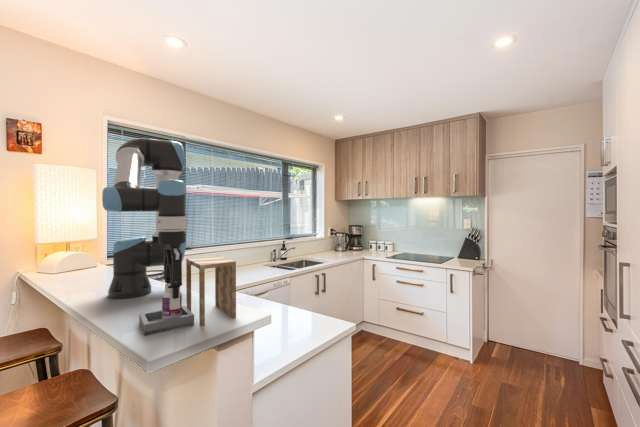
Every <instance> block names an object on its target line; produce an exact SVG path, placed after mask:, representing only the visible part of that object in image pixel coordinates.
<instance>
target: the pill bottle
mask: <svg viewBox="0 0 640 427" xmlns="http://www.w3.org/2000/svg"><path fill="white" fill-rule="evenodd" d="M168 286H170V285H167V286H164V293H163V294H162V296H161V297H162V299H161V300H162V301H161V303H162V304H161V310H162V318H163V319H169V318H174V317H179V316H181V314H182V306H183V304H182V303H183V302H182V300H183V299H182V296H183V294H182V292H181V291H180V308H178V309H173V310H170V288H168ZM165 291H166V292H165Z"/></svg>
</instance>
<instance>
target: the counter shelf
mask: <svg viewBox="0 0 640 427" xmlns="http://www.w3.org/2000/svg"><path fill="white" fill-rule="evenodd" d="M185 262H186V264H185V266H186V268H185V269H186V271H185V272H186V273H185V274H186V276H185V277H186V281H185V282H186V286H185V287H186V290H185V291H186V294H185V295H186V297H185V298H186V307H187V308H188V309H189V310H190V311H191V312H192V266H193V267H195V268H197V269H198V276H199V278H198V280H199V281H198V283H199V284H198V286H199V291H198V292H199V293H198V296H199V300H198V301H199V302H198V303H199V308H198V309H199V310H198V311H199V322H198V323H199V326H200V327H204V326H205V324H206V323H205V322H206V320H205V318H206V317H205V316H206V310H205V309H206V308H205V307H206V306H205V305H206V304H205V303H206V300H205V298H206V297H205V295H206V294H205V293H206V292H205V289H206V287H205V286H206V282H205V281H206V279H205V278H206V276H205V274H206V273H205V272H206V271H205V270H206V269H207V270H208V269H215V270H214V271H215V272H214V273H215V274H214V277H215V278H214V279H215V280H214V282H215V283H214V284H215V285H214V287H215V288H214V290H215V292H214V297H215V298H214V301H215V303H214V304H215V307H216V308H219V309H220V310H221V311H223V312H225V313H226V314H227V315H228V316H229V317H230V318H231V319H236V318H237V269H236V268H237V262H236V261H235V260H232V259H230V258H227V257H224V256H220V255H210V256H209V255H208V256H200V257H189V258H188V257H187V258H186V260H185Z"/></svg>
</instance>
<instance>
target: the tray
mask: <svg viewBox="0 0 640 427" xmlns="http://www.w3.org/2000/svg"><path fill="white" fill-rule="evenodd" d="M138 320H139V321H138V323H139V326H140V328H141V331H142V332H143V335H144V336H145V337H146V336H150V335H154V334H159V333H163V332H168V331H171V330H176V329H180V328H185V327H189V326H194V325H195V314H194V313H193V312H192V310H191V311H190V310H189V309H188V308H187V305H182V314H181V316H179V317H174V318H169V319H163V318H162V309H159V310H154V311H148V312H142V313H139V314H138Z"/></svg>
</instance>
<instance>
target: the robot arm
mask: <svg viewBox="0 0 640 427" xmlns="http://www.w3.org/2000/svg"><path fill="white" fill-rule="evenodd" d="M115 161H116V170H115V175H114V178H113V179H114V180H113V185H112V186H106V187H104V188H103V190H102V199H101V200H102V202H101V203H102V208H103V210H105V211H106V212H118V213H121V212H155V213H156V214H155V215H156V216H155V217H156V218H155V220H156V221H155V224H156V226H155V227H156V229H155V232H154V233H153V234H152V236H151V237H152V238H150V239H147V236H146V235H145V236H144V235H140V236H132V237H127V238H122V239H118V240H115V242H113V247H112V248H113V250H112V254H113V255H112V256H113V258H112V259H113V260H112V264H113V266H112V267H113V268H112V269H113V272H112V273H113V276H112V280H111V283H110V286H109V288H108V290H107V291H108V292H107V294H108V295H107V297H108V298H110V299H130V298H135V297H136V298H137V297H141V296H145V295H147V294H150V293H151V292H152V285H151V281H150V279H149V276H148V274H147V268H149V267H163V280H164V283H165V284H164V285H165V286H167V285H170V286H168V288H170V310H173V309H178V308H180V292H181V287H182V286H183V272H182V271H183V263H182V262H183V261H184V259H185V254H186V247H187V246H186V245H187V244H186V241H187V238H186V236H187V235H186V233H187V232H186V231H185V230H186V228H187V227H186V226H187V224H186V223H187V219H186V218H187V217H186V193H187V190H186V183H185V181H183V180H179V176H180V175H181V174H183V170H184V169H186V168H187V167H186V156H185V150H184V146H183V144H182V143H181V142H179V141H174V140H167V139H157V138H155V139H154V138H146V137H140V138H139V137H137V138H133V139H130V140H127V141H126V142H124V143H123V144H121V145H120V146H119V147H118V149H117V150H116V153H115ZM142 167H148V168H151V172H152V173H153V174H154V175H155V188H153V187H152V188H150V187H148V188H147V187H141V177H142V176H141V174H142ZM165 286H164V287H165ZM165 292H166V291H165V290H164V293H165Z"/></svg>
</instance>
